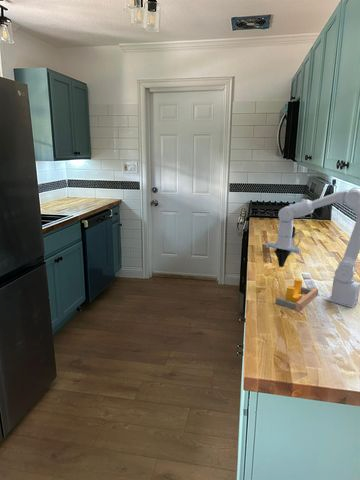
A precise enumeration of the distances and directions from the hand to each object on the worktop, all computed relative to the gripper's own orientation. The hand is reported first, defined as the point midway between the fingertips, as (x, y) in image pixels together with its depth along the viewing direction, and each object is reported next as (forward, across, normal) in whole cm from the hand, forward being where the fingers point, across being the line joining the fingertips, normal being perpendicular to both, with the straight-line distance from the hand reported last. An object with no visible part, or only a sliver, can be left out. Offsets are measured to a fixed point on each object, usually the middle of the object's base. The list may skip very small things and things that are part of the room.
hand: (281, 266), depth 143 cm
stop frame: (+9, -11, +7) cm, 16 cm away
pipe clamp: (+10, -10, +7) cm, 16 cm away
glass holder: (+10, +17, -50) cm, 54 cm away
